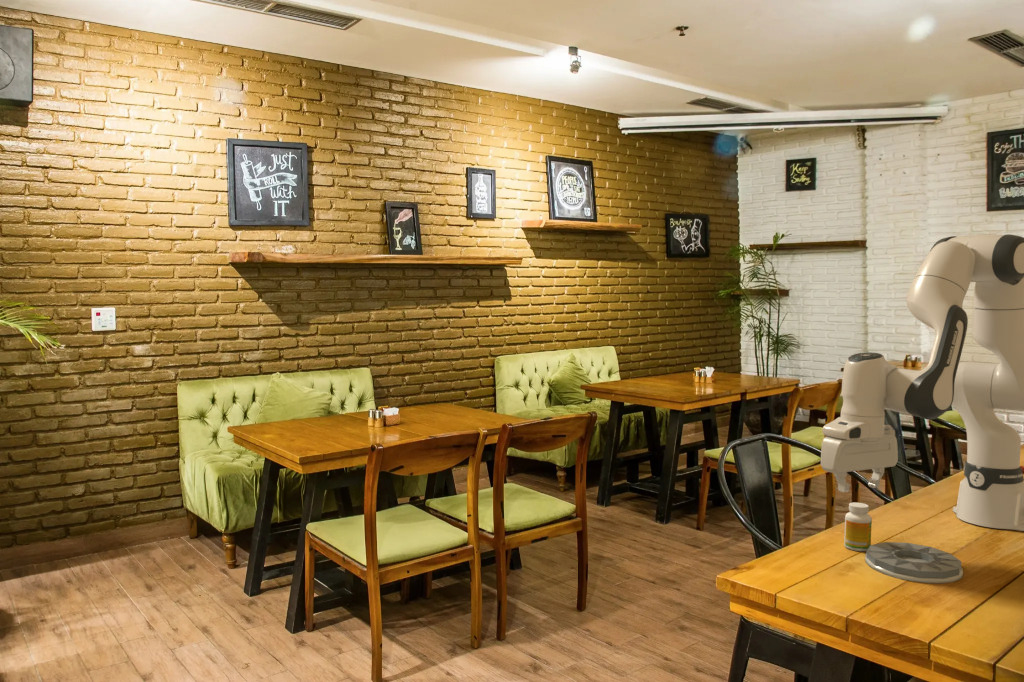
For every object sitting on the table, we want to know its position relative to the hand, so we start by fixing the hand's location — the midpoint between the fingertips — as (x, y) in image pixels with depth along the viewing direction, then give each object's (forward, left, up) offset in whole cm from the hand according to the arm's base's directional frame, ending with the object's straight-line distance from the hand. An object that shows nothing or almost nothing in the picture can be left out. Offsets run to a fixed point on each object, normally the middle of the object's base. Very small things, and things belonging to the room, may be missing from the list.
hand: (858, 489), depth 171 cm
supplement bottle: (0, 0, -14) cm, 14 cm away
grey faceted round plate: (-1, +13, -13) cm, 19 cm away
